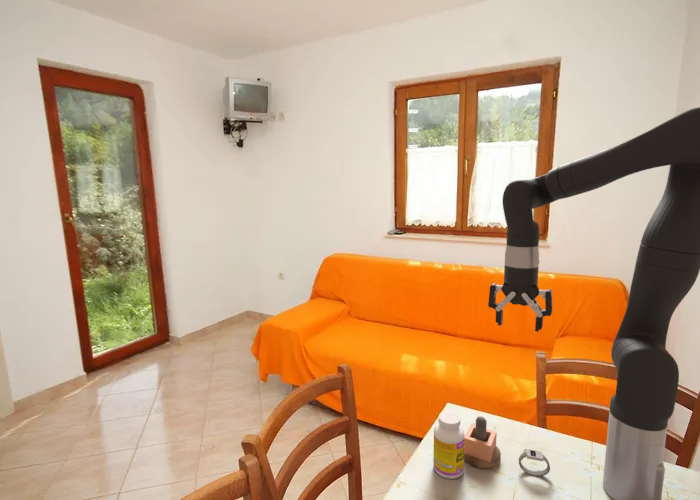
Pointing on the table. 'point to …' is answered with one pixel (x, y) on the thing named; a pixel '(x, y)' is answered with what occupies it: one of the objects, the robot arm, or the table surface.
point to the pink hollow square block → (480, 444)
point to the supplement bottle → (448, 446)
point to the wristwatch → (535, 456)
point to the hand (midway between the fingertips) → (518, 327)
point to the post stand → (481, 435)
